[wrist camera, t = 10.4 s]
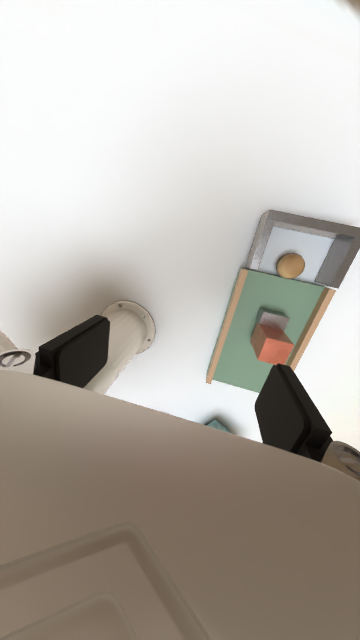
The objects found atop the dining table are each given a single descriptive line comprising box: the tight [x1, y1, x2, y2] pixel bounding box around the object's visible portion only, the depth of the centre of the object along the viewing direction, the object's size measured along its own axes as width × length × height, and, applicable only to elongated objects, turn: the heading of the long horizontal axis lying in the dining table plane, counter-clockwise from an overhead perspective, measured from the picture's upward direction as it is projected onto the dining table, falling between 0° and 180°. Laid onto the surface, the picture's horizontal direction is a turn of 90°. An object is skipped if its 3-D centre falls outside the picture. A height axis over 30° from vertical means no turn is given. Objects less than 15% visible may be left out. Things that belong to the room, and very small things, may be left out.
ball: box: [277, 254, 305, 279], centre depth 32 cm, size 4×4×4 cm
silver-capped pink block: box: [250, 307, 294, 365], centre depth 32 cm, size 7×4×8 cm, turn 168°
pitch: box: [206, 268, 336, 393], centre depth 37 cm, size 24×15×3 cm, turn 168°
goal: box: [245, 210, 360, 288], centre depth 30 cm, size 8×13×5 cm, turn 78°
